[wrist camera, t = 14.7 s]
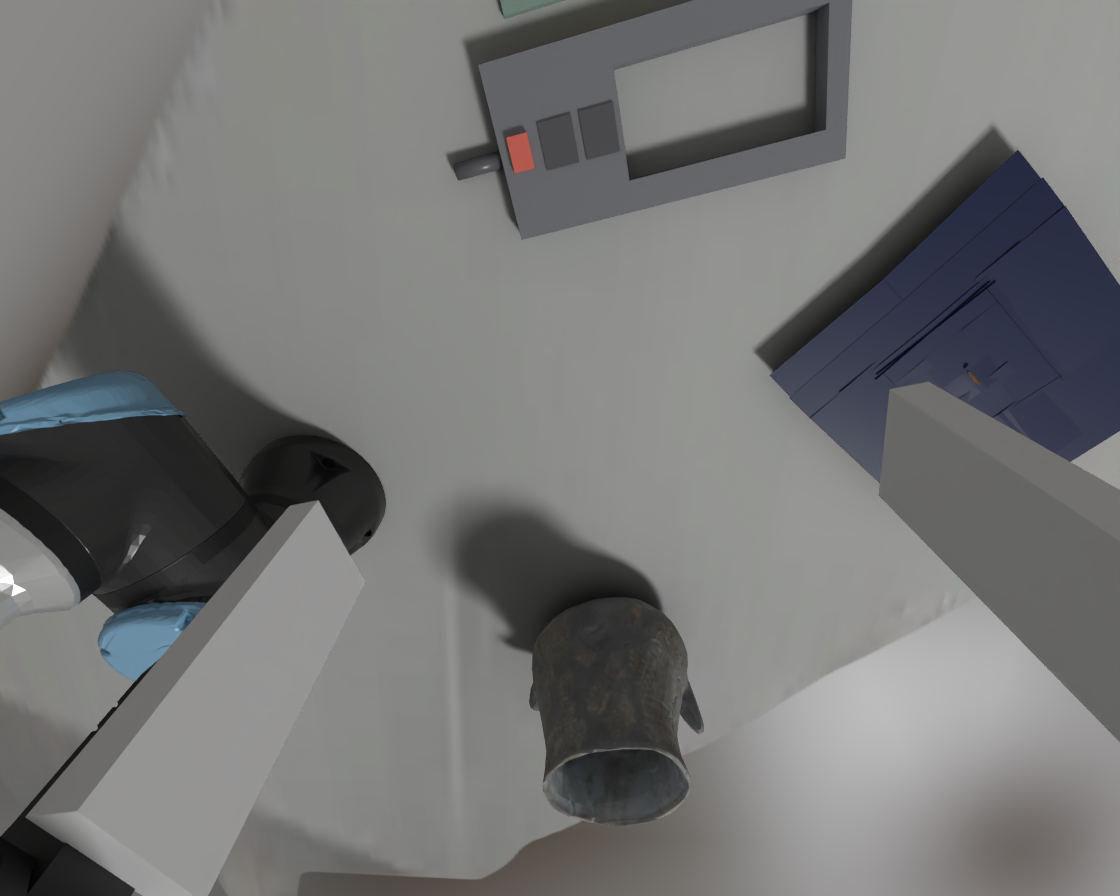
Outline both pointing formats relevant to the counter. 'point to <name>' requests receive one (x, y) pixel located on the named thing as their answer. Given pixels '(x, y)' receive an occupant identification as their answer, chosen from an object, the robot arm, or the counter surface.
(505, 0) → the rubber mat
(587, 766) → the vessel
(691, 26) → the rectangular frame
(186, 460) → the robot arm
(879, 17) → the counter surface
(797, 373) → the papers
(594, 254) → the counter surface
